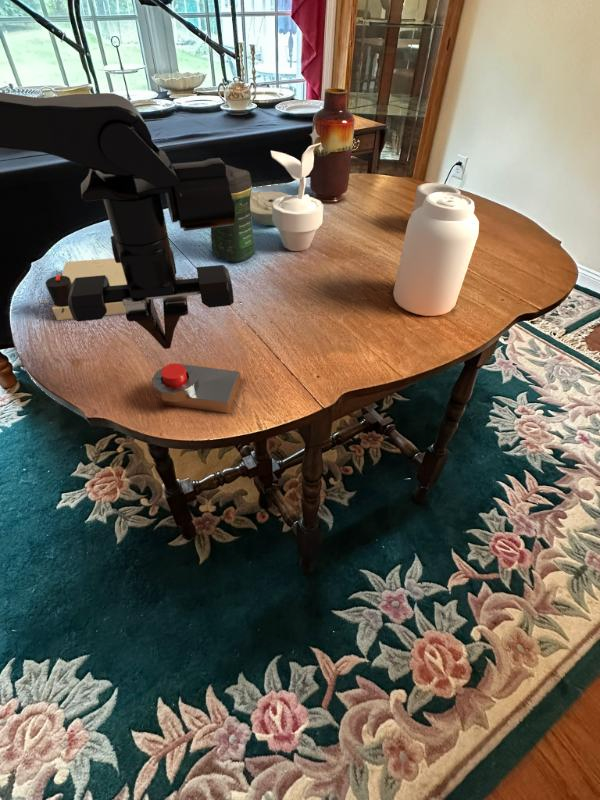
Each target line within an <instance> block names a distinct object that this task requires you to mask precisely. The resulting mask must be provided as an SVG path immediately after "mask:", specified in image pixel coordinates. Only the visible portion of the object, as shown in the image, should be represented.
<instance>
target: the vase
mask: <svg viewBox="0 0 600 800" xmlns="http://www.w3.org/2000/svg"><path fill="white" fill-rule="evenodd" d="M323 94H324V95H323V107H322V108H320V109H319V110H317V112H315V114H314V116H313V118H312V132H311V134H312V133H313V131H314V127H315V129H316V133H317V135H319V136H320V137H317V138H316V139H315V142H314V144H318V143H321V144H320V145H321V146H322V148H324V149H322V150H321V152H320V150H319V147H320V145H317V146H315V148H314V151H313V153H314V163H313V168H312V170H311V172H310V173H309V176H310V177H309V188H310V190H311V191H312V192H313V193H312V197H313V198H315V199H317V200H319V201H321V203H322V204H338V203H340V202H343V200H344V195H343V194H346V192H347V191H348V189H349V182H350V180H349V179H350V174H351V173H350V171H351V162H352V154H353V143H354V135H355V123H356V120H355V116H354V115H353V113H352V112H350V111H349V110H348V109H347V104H348V90H347V89H345V88H339V87H328V88H325V89H324V93H323ZM311 145H313V139H312V138H311Z"/></svg>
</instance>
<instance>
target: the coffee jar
mask: <svg viewBox="0 0 600 800" xmlns="http://www.w3.org/2000/svg"><path fill="white" fill-rule="evenodd" d="M225 166H226V175H227V178H228V181H229V185H230V190H231V195H232V198H233V200H234V204H235V222H234V225H229V226H221V227H213V228H210V242H211V243H210V244H211V251H212V254H214V255H215V256H216V257H219V258H221V259H223V260H225V261H228V262H231V263H238V262H244V261H247V260H249V259H251V258H252V257H253V256H254V255H255V253H256V251H255V238H254V231H253V224H252V223H253V221H252V216H251V210H250V196H251V192H253V186H252V178H251V173H250V172H249V171H248V170H246V169H242V168H238V167H234V166H231V165H228V164H225Z"/></svg>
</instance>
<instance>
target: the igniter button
mask: <svg viewBox="0 0 600 800" xmlns="http://www.w3.org/2000/svg"><path fill="white" fill-rule="evenodd" d="M181 364H182V363H170V364H167V365H165V366H164V367H162V368H163V369H162V368H161V369H162V371H161V375H162V378H163V382H164V384H165V386H168V387H173V388H174V387H178V386H182V385H183V384H185V383H186V381H187V374H186V369H185V367H184V366H183V365H181Z"/></svg>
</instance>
